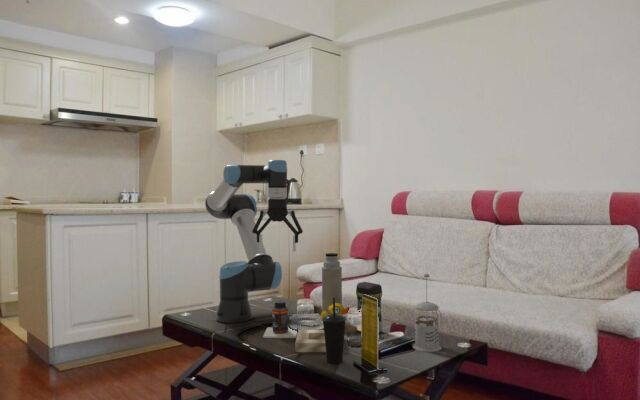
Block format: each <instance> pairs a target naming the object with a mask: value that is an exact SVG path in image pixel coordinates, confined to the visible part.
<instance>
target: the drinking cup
mask: <svg viewBox="0 0 640 400" xmlns="http://www.w3.org/2000/svg"><path fill="white" fill-rule="evenodd" d="M322 320H323V324H322V326H323V330H324V336H325V346H326V352H325V353H326V354H325V356H326V362H327V363H328V364H332V365H339V364H342V363H343V361H344V359H343V358H344V352H343V348H345V347H344V346H345V345H344V344H345V334H346V333H345V331H346V322H347V317H346V316H344V315H343V314H342V315H340V314H335V298H333V314H329V315H326V316H324V317H322Z"/></svg>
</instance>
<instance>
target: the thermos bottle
mask: <svg viewBox="0 0 640 400" xmlns="http://www.w3.org/2000/svg"><path fill="white" fill-rule="evenodd" d="M338 259H339V258H338V253H337V252H336V253H335V252H334V253H333V252H329V253H328V252H327V253H325V260H323V264H322V267H321V299H322V300H321V310H322V311H321V314H322V313H323V312H324V311H326V312H327V314H328V315H329V314H331V313H330V311H329V309H328V308H329V306H331V305H333V298H335V303H340V304H341V305H343V288H342V287H343V281H342V280H343V278H342V277H343V276H342V275H343V274H342V273H343V271H342V266H341V262H340V261H339V260H338Z"/></svg>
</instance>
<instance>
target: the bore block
mask: <svg viewBox="0 0 640 400" xmlns="http://www.w3.org/2000/svg"><path fill="white" fill-rule="evenodd" d="M294 343H295V344H294V345H295V347H294V349H295V353H326V346H325V336H324V329H298V332H297V336H296V338H295V342H294ZM344 348H345V347H344ZM344 348H343V353H344V350H345V349H344Z"/></svg>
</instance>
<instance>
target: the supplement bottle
mask: <svg viewBox="0 0 640 400" xmlns="http://www.w3.org/2000/svg"><path fill="white" fill-rule="evenodd" d="M286 303H287V302H286V301H285V300H277V301H274V306H273V308H272V314H271V315H272V327H273V332H274V333H286V332H288V327H289V308H288V307H287V305H286Z"/></svg>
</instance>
